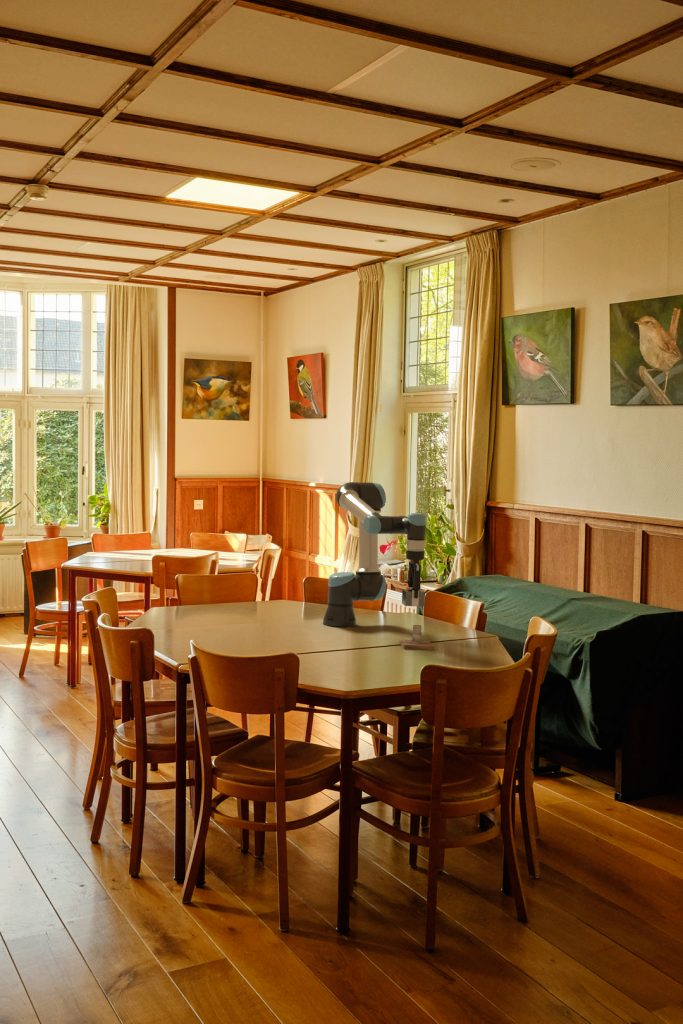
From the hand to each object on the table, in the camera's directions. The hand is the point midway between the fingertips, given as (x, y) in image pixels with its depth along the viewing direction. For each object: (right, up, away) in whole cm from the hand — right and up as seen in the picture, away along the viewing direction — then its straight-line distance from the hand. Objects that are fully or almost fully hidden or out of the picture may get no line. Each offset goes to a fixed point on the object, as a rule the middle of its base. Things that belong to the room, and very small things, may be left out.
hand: (413, 604), depth 419 cm
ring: (0, 0, 0) cm, 0 cm away
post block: (0, -16, -11) cm, 20 cm away
